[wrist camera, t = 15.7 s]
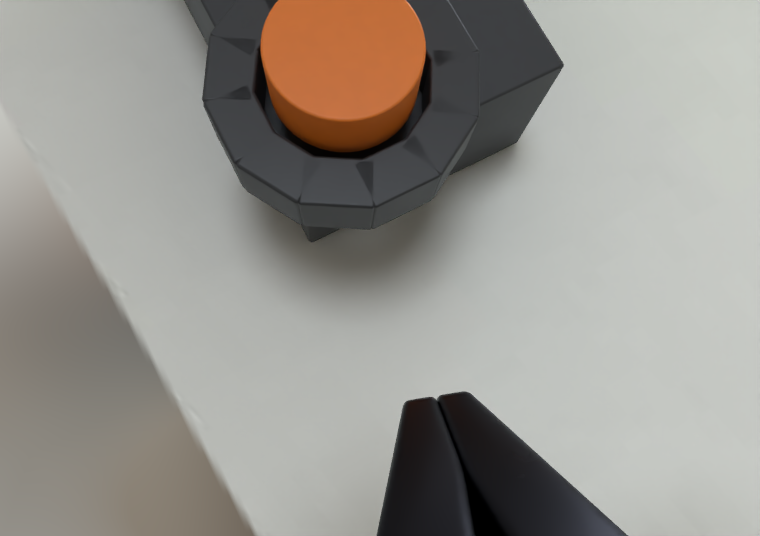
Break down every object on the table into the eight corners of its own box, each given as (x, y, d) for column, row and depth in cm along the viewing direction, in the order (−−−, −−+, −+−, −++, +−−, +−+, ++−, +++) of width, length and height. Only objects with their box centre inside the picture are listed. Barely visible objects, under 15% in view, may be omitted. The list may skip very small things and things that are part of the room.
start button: (310, 178, 16) (306, 148, 14) (243, 53, 16) (232, 9, 15) (444, 114, 16) (455, 78, 15) (374, -4, 17) (378, -53, 15)
